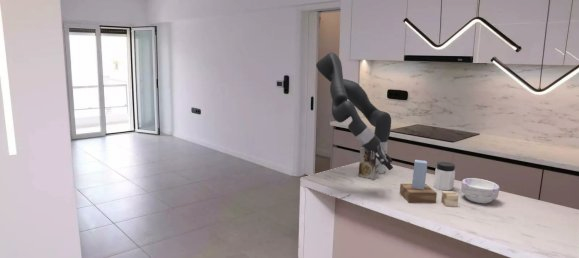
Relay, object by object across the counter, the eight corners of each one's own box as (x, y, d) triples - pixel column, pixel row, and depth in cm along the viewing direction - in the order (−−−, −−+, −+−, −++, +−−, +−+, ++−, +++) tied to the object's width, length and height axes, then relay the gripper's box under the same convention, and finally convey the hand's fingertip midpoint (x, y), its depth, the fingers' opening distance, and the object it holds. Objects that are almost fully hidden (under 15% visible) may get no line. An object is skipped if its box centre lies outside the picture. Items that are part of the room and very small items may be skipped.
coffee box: (379, 176, 209) (381, 146, 207) (374, 179, 204) (377, 148, 201) (362, 173, 214) (364, 144, 211) (357, 176, 209) (360, 146, 206)
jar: (447, 191, 189) (450, 167, 187) (431, 187, 195) (433, 163, 193) (455, 188, 195) (458, 164, 193) (439, 183, 201) (442, 160, 199)
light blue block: (411, 185, 182) (414, 159, 180) (423, 186, 181) (426, 161, 179) (412, 188, 177) (415, 162, 175) (424, 190, 176) (427, 163, 174)
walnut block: (399, 194, 185) (400, 183, 184) (424, 194, 186) (426, 184, 185) (408, 203, 173) (409, 192, 172) (435, 203, 174) (436, 192, 173)
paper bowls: (501, 207, 171) (504, 190, 170) (464, 204, 174) (466, 186, 173) (491, 195, 186) (493, 179, 184) (457, 192, 189) (458, 176, 187)
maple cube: (441, 202, 176) (442, 191, 175) (452, 202, 176) (453, 191, 175) (445, 206, 171) (447, 195, 170) (457, 206, 171) (458, 195, 170)
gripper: (361, 139, 188) (384, 164, 189) (360, 148, 175) (384, 176, 176) (374, 129, 186) (397, 155, 187) (374, 138, 173) (398, 166, 173)
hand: (391, 165), depth 181 cm, fingers open, 8 cm apart
